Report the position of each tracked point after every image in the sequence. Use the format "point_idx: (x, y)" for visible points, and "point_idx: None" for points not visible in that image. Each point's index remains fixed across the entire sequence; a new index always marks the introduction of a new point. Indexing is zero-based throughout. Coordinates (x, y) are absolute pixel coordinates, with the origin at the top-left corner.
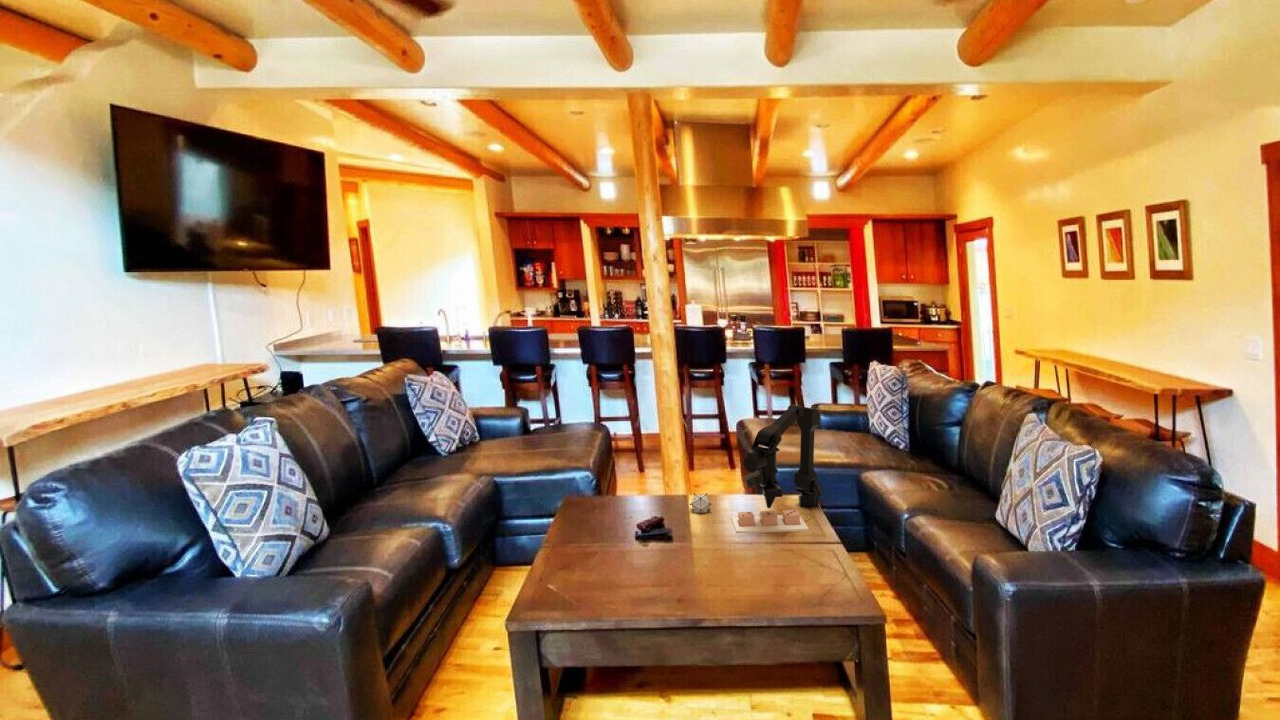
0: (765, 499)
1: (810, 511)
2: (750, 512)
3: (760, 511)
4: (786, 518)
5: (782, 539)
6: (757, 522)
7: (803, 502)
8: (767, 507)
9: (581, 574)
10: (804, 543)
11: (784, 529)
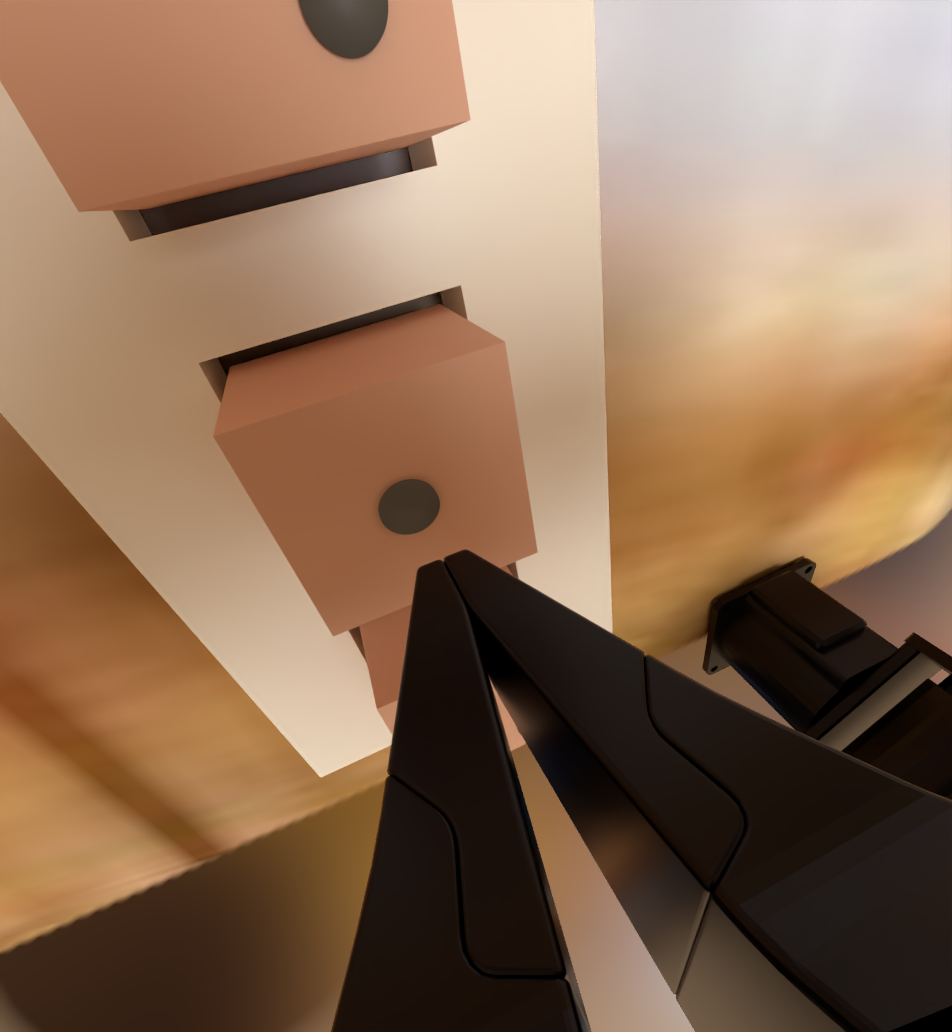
0: (532, 681)
1: (708, 630)
2: (397, 62)
3: (496, 346)
4: (373, 684)
5: (58, 610)
6: (334, 263)
7: (781, 636)
8: (417, 573)
9: None
10: (81, 772)
11: (206, 644)
